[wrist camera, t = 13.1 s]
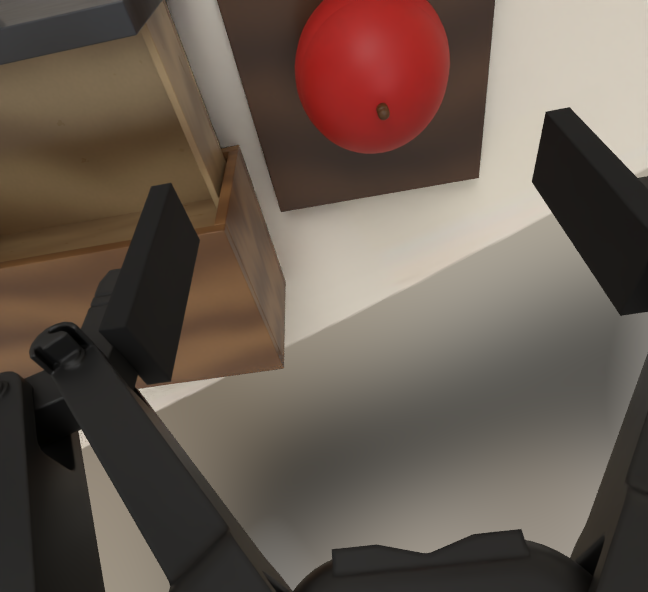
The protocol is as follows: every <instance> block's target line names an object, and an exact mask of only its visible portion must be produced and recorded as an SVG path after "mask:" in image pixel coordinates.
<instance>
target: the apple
mask: <svg viewBox="0 0 648 592" xmlns="http://www.w3.org/2000/svg"><path fill="white" fill-rule="evenodd" d="M449 68H450V53H449V45H448V39H447V36H446V32H445V29H444V27H443V25H442V23H441V20H440V18H439V16H438V14H437V13H436V11H435V10H434V8H433V7H432V5H431V4H430V3H429V2H428V1H427V0H323V1H322V2H321V3H320V5H319V6H318V7H317V8H316V9H315V10H314V12H313V13H312V15H311V16H310V17H309V19H308V21H307V23H306V24H305V26H304V28H303V30H302V33H301V36H300V39H299V42H298V47H297V51H296V57H295V80H296V87H297V92H298V95H299V99H300V101H301V104H302V106H303V108H304V110H305V112H306V114H307V116H308V117H309V119H310V121H311V122H312V123H313V124H314V126H315V127H316V128H317V129H318V130H319V131H320V132H321V133H322V134H323V135H324V136H325V137H326V138H327V139H329V140H330V141H331V142H333V143H334V144H336V145H338V146H340V147H342V148H344V149H347V150H349V151H353V152H357V153H364V154H376V153H383V152H387V151H391V150H394V149H396V148H399V147H401V146H403V145H405V144H407V143H408V142H410V141H411V140H413V139H414V138H415V137H416V136H418V135H419V134H420V133H421V132H422V131H423V130H424V129H425V128H426V127H427V125H428V124H429V123H430V122H431V120H432V119H433V117H434V116H435V114H436V113H437V111H438V109H439V107H440V105H441V103H442V100H443V97H444V95H445V91H446V87H447V82H448V76H449Z"/></svg>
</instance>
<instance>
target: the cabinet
mask: <svg viewBox="0 0 648 592" xmlns="http://www.w3.org/2000/svg"><path fill="white" fill-rule="evenodd" d="M221 151H222V153H223V156H224V159H225V161H226V168H225V173H224V178H223V183H222V188H221V193H220V198H219V203H218V208H217V213H216V217H215V222H214V225H213V226H207V227H201V228H196V229H195V231H196V233H197V235H198V237H199V239H200V243H199V248H198V253H197V257H196V262H195V267H194V272H193V277H192V282H191V287H190V291H189V296H188V301H187V306H186V311H185V316H184V321H183V325H182V330H181V335H180V340H179V345H178V350H177V355H176V359H175V364H174V369H173V374H172V379H171V382H164V383H157V384H151V385H147V384H146V383H145V382H144V381H143V380H142V379H141V378H140V377H139V375H138V377H137V381H136V385H135V387H136V388H137V389H139V388H146V387H153V386H160V385H168V384H175V383H182V382H189V381H197V380H204V379H211V378H218V377H226V376H233V375H240V374H247V373H255V372H261V371H269V370H276V369H283V368H284V335H285V287H286V282H285V279H284V276H283V273H282V270H281V267H280V264H279V261H278V258H277V255H276V252H275V249H274V247H273V244H272V241H271V238H270V235H269V232H268V229H267V226H266V223H265V220H264V217H263V214H262V211H261V208H260V205H259V203H258V200H257V197H256V194H255V191H254V188H253V185H252V182H251V179H250V176H249V173H248V170H247V167H246V164H245V161H244V159H243V156H242V153H241V150H240V147H239V145H237V146H231V147H226V148H221ZM130 243H131V240H126V241H120V242H114V243H109V244H103V245H97V246H91V247H85V248H80V249H74V250H68V251H62V252H56V253H51V254H45V255H39V256H33V257H27V258H22V259H16V260H10V261H4V262H0V373H2V372H8V371H13V372H15V373H17V374H19V375H20V376H21V377H23V378H24V379H25V378H27V377H29V376H32V375H34V374H36V373H39V372H41V371H43V370H44V369H43V368H41V367H40V366H39V365H38V364H37V363H35V362H34V361H33V360H32V359H31V358H30V355H29V350H30V347H31V344H32V342H33V341H34V340H35V339H36V337H37V336H38V335H39V334H40V333H42V332H43V331H44V330H45V329H47V328H49V327H50V326H52V325H54V324H57V323H61V322H73V323H74V324H76V325H77V326H78V327H79V328H80V329H81V327H82V325H83V322H84V320H85V317H86V315H87V312H88V310H89V308H91V306H90V305H91V302H92V300H93V298H94V297H95V292H96V290H97V287H98V285H99V282H100V281H101V280H102V279H103V278H104V277H105V275H106V274H107V273H108V272H109V271H110V270H114V269H120V268H121V267H122V264H123V262H124V259H125V256H126V254H127V251H128V248H129V245H130Z"/></svg>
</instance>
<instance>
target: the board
mask: <svg viewBox="0 0 648 592" xmlns="http://www.w3.org/2000/svg"><path fill="white" fill-rule="evenodd" d="M322 1H323V0H217V2H218V5H219V8H220V12H221V15H222V18H223V22H224V25H225V28H226V32H227V35H228V38H229V41H230V45H231V48H232V51H233V55H234V58H235V61H236V65H237V68H238V71H239V75H240V78H241V81H242V85H243V88H244V91H245V94H246V98H247V101H248V104H249V108H250V111H251V114H252V118H253V121H254V124H255V128H256V131H257V134H258V138H259V141H260V144H261V147H262V151H263V154H264V157H265V161H266V164H267V167H268V171H269V174H270V177H271V181H272V184H273V187H274V191H275V194H276V197H277V200H278V204H279V207H280V210H281V212H284V211H290V210H296V209H301V208H307V207H313V206H319V205H324V204H330V203H336V202H342V201H348V200H353V199H359V198H365V197H371V196H377V195H382V194H388V193H394V192H400V191H405V190H411V189H417V188H423V187H429V186H434V185H440V184H446V183H452V182H458V181H463V180H469V179H475V178H479V170H480V159H481V148H482V137H483V126H484V115H485V104H486V93H487V82H488V71H489V61H490V50H491V39H492V28H493V17H494V6H495V0H427V1H428V2H429V3H430V4H431V5H432V7H433V8H434V10H435V11H436V13H437V14H438V16H439V18H440V20H441V23H442V25H443V27H444V29H445V32H446V36H447V39H448V45H449V53H450V68H449V76H448V82H447V87H446V91H445V95H444V97H443V100H442V103H441V105H440V107H439V109H438V111H437V113H436V114H435V116H434V117H433V119H432V120H431V122H430V123H429V124H428V125H427V127H426V128H425V129H424V130H423V131H422V132H421V133H420V134H419V135H418V136H416V137H415V138H414V139H413V140H411V141H410V142H408V143H407V144H405V145H403V146H401V147H399V148H396V149H394V150H391V151H387V152H383V153H376V154H364V153H357V152H353V151H349V150H347V149H344V148H342V147H340V146H338V145H336V144H334V143H333V142H331V141H330V140H329V139H327V138H326V137H325V136H324V135H323V134H322V133H321V132H320V131H319V130H318V129H317V128H316V127H315V126H314V124H313V123H312V122H311V121H310V119H309V117H308V116H307V114H306V112H305V110H304V108H303V106H302V104H301V101H300V99H299V95H298V92H297V87H296V80H295V57H296V51H297V47H298V42H299V39H300V36H301V33H302V30H303V28H304V26H305V24H306V23H307V21H308V19H309V17H310V16H311V15H312V13H313V12H314V10H315V9H316V8H317V7H318V6H319V5H320V3H321V2H322Z"/></svg>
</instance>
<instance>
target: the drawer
mask: <svg viewBox="0 0 648 592" xmlns="http://www.w3.org/2000/svg"><path fill="white" fill-rule="evenodd" d="M225 168H226V161H225V159H224V156H223V153H222V151H221V148H220V145H219V143H218V140H217V137H216V135H215V132H214V129H213V127H212V124H211V121H210V119H209V116H208V113H207V111H206V108H205V105H204V103H203V100H202V97H201V95H200V92H199V89H198V87H197V84H196V81H195V79H194V76H193V73H192V71H191V68H190V65H189V63H188V60H187V57H186V55H185V52H184V49H183V47H182V44H181V41H180V39H179V36H178V33H177V31H176V28H175V25H174V23H173V20H172V17H171V15H170V12H169V9H168V7H167V4H166V1H165V0H0V262H4V261H10V260H16V259H22V258H27V257H33V256H39V255H45V254H51V253H56V252H62V251H68V250H74V249H80V248H85V247H91V246H97V245H103V244H109V243H114V242H120V241H126V240H132V237H133V234H134V232H135V229H136V226H137V224H138V221H139V218H140V215H141V213H142V210H143V207H144V205H145V202H146V199H147V196H148V194H149V191H150V188H151V186H156V185H161V184H166V183H172V185H173V187H174V189H175V191H176V193H177V195H178V197H179V199H180V201H181V203H182V205H183V207H184V209H185V211H186V213H187V215H188V217H189V219H190V221H191V223H192V225H193V227H194V229H196V228H201V227H207V226H213V225H214V222H215V217H216V213H217V208H218V203H219V198H220V193H221V188H222V183H223V178H224V173H225Z"/></svg>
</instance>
